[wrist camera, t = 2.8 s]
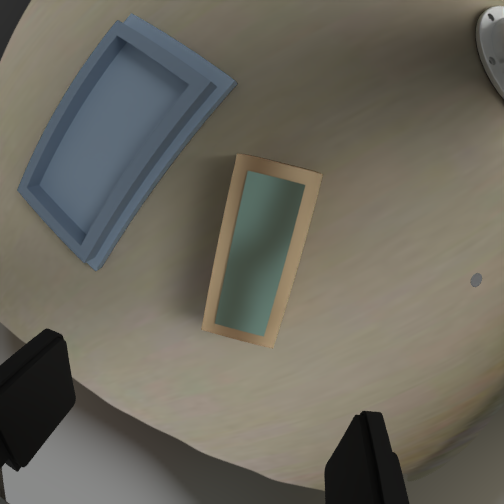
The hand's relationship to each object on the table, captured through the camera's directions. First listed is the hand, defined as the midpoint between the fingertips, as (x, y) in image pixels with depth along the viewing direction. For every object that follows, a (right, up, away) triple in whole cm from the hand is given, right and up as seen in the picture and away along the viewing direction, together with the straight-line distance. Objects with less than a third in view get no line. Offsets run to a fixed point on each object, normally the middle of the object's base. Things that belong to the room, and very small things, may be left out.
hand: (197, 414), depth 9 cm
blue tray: (-12, +15, +18) cm, 26 cm away
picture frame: (+3, +6, +19) cm, 20 cm away
